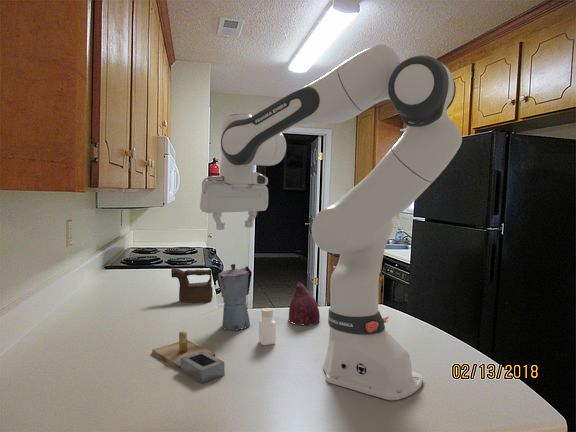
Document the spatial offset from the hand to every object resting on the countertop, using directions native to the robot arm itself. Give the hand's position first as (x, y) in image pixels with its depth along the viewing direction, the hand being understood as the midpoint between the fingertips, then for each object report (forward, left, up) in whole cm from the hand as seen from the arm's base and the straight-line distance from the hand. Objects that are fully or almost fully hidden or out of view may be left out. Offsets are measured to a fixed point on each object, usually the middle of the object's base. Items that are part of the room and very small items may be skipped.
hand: (234, 228), depth 103 cm
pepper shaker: (-4, -8, -33) cm, 34 cm away
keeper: (+5, +13, -32) cm, 35 cm away
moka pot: (+14, -11, -33) cm, 37 cm away
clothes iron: (+51, -18, -33) cm, 63 cm away
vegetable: (+2, -30, -33) cm, 44 cm away
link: (-7, +15, -32) cm, 37 cm away
